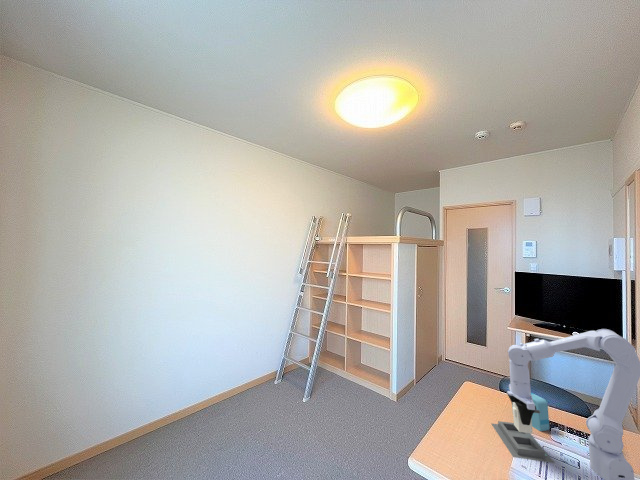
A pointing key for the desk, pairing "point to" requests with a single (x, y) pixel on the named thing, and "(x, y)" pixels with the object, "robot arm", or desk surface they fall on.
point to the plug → (518, 422)
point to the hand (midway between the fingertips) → (522, 420)
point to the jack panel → (521, 443)
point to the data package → (540, 414)
